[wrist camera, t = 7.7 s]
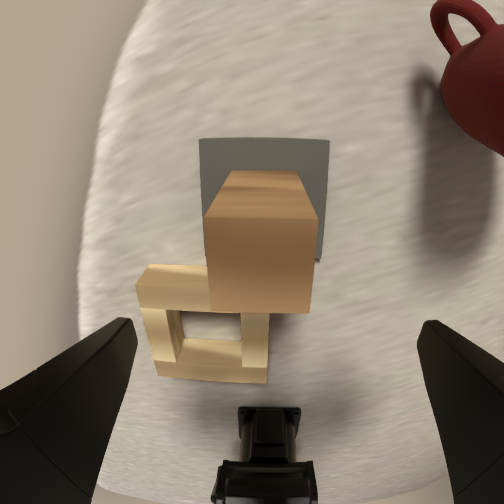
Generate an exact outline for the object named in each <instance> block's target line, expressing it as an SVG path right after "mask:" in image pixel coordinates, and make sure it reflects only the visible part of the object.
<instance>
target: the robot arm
mask: <svg viewBox="0 0 504 504" xmlns="http://www.w3.org/2000/svg"><path fill="white" fill-rule="evenodd" d="M137 345H138V340H137V336H136V332H135V328H134V325H133V322H132V320H131V319H130V318H124V317H118V318H116V319H115V320H113V321H112V322H110V323H108V324H107V325H105V326H103V327H102V328H100V329H99V330H97V331H95V332H94V333H92V334H91V335H89V336H87V337H86V338H84V339H83V340H81V341H79V342H78V343H76V344H75V345H73V346H72V347H70V348H68V349H67V350H65V351H64V352H62V353H60V354H59V355H57V356H56V357H54V358H52V359H51V360H49V361H48V362H46V363H45V364H43V365H41V366H40V367H38V368H37V369H36V370H34V371H32V372H31V373H29V374H27V375H26V376H24V377H23V378H21V379H19V380H17V381H16V382H14V383H12V384H11V385H9V386H7V387H5V388H3V389H2V390H0V504H91V501H92V499H91V498H92V496H93V493H94V489H95V486H96V482H97V479H98V475H99V472H100V468H101V465H102V462H103V459H104V455H105V452H106V449H107V446H108V443H109V439H110V436H111V433H112V430H113V427H114V424H115V421H116V418H117V415H118V412H119V409H120V407H121V404H122V401H123V398H124V395H125V392H126V389H127V386H128V382H129V378H130V374H131V370H132V366H133V362H134V357H135V353H136V349H137ZM417 350H418V354H419V358H420V363H421V367H422V372H423V377H424V381H425V386H426V389H427V393H428V396H429V399H430V403H431V406H432V409H433V413H434V416H435V420H436V423H437V427H438V431H439V435H440V438H441V442H442V446H443V451H444V455H445V459H446V463H447V468H448V473H449V477H450V482H451V487H452V492H453V497H454V498H453V499H454V504H504V363H503V362H502V361H500V360H499V359H497V358H496V357H494V356H493V355H491V354H489V353H488V352H486V351H485V350H483V349H482V348H480V347H479V346H477V345H476V344H474V343H473V342H471V341H470V340H468V339H466V338H465V337H463V336H462V335H460V334H459V333H457V332H456V331H454V330H452V329H451V328H449V327H448V326H446V325H444V324H443V323H441V322H440V321H438V320H427V321H425V322H424V324H423V327H422V329H421V332H420V335H419V338H418V341H417ZM300 416H301V409H300V408H262V407H239V408H238V422H239V437H240V439H241V447H240V459H239V462H237V461H229V460H223V465H222V466H219V467H218V473H217V479H216V483H215V486H214V489H213V492H212V495H211V501H212V502H213V503H214V504H318V493H317V485H316V479H315V473H314V467H313V461H307V462H296V441H295V439H296V435H297V431H298V426H299V421H300Z"/></svg>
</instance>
